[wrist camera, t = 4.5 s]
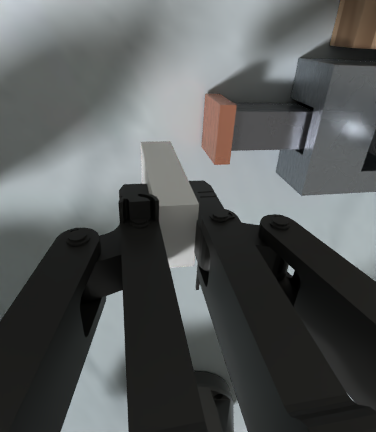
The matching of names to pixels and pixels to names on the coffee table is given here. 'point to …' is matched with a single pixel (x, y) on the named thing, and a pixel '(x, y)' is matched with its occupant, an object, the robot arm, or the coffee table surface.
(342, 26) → the brown square tray
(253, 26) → the coffee table surface
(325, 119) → the socket block
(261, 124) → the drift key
